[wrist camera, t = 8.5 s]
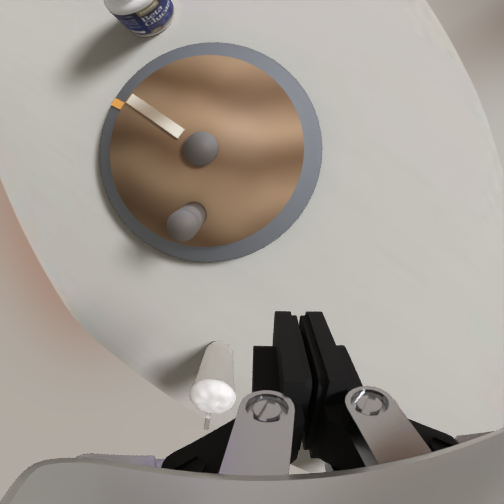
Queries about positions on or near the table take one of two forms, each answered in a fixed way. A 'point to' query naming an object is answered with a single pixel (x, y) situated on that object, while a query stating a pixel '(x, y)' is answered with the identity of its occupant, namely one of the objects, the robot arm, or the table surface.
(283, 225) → the base plate
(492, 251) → the table surface
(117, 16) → the pill bottle
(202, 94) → the dial
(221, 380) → the milkshake
